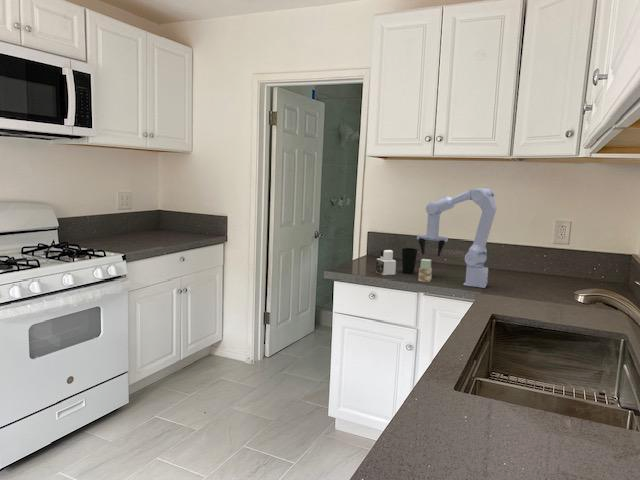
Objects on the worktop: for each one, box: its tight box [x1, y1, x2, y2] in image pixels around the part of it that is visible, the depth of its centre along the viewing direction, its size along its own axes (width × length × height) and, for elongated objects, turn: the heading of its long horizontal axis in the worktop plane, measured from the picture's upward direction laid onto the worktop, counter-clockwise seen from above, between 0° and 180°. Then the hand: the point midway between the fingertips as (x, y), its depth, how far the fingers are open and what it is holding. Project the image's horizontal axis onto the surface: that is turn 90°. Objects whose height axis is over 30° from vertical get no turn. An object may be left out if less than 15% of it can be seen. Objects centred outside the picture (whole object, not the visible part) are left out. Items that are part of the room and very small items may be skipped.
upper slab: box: [418, 267, 433, 276], centre depth 223 cm, size 5×5×3 cm
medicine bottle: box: [375, 248, 397, 276], centre depth 235 cm, size 7×7×12 cm
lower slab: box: [417, 274, 433, 283], centre depth 223 cm, size 5×5×3 cm
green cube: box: [419, 258, 432, 270], centre depth 222 cm, size 4×4×4 cm
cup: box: [401, 247, 418, 275], centre depth 239 cm, size 8×8×12 cm
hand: (430, 254), depth 233 cm, fingers open, 7 cm apart
